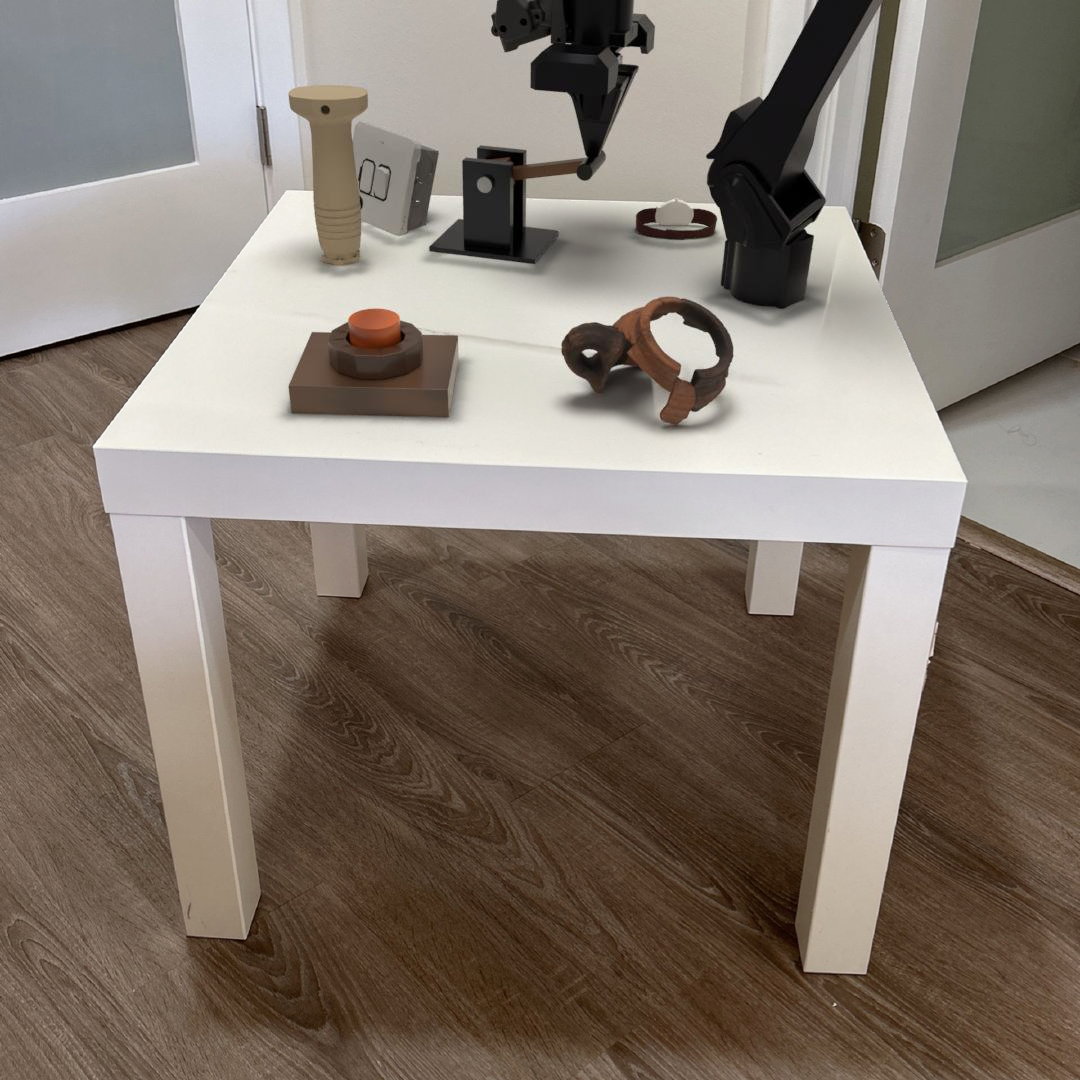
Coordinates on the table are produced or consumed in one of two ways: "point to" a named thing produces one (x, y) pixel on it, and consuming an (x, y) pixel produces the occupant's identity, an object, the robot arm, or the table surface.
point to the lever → (558, 168)
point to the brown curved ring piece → (652, 354)
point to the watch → (675, 220)
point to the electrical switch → (392, 178)
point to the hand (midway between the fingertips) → (592, 156)
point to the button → (374, 329)
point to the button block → (376, 375)
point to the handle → (333, 166)
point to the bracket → (494, 212)
